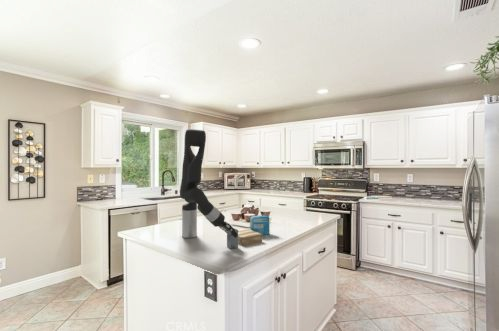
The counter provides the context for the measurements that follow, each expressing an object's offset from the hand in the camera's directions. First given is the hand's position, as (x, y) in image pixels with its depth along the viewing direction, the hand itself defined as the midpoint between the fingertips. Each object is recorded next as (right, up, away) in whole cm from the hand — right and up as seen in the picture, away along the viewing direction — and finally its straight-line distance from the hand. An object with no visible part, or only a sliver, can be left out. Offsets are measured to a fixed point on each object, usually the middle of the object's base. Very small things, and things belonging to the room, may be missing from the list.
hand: (233, 234), depth 148 cm
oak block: (+7, -8, +13) cm, 16 cm away
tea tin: (0, -7, 0) cm, 7 cm away
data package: (+16, -7, +28) cm, 33 cm away
